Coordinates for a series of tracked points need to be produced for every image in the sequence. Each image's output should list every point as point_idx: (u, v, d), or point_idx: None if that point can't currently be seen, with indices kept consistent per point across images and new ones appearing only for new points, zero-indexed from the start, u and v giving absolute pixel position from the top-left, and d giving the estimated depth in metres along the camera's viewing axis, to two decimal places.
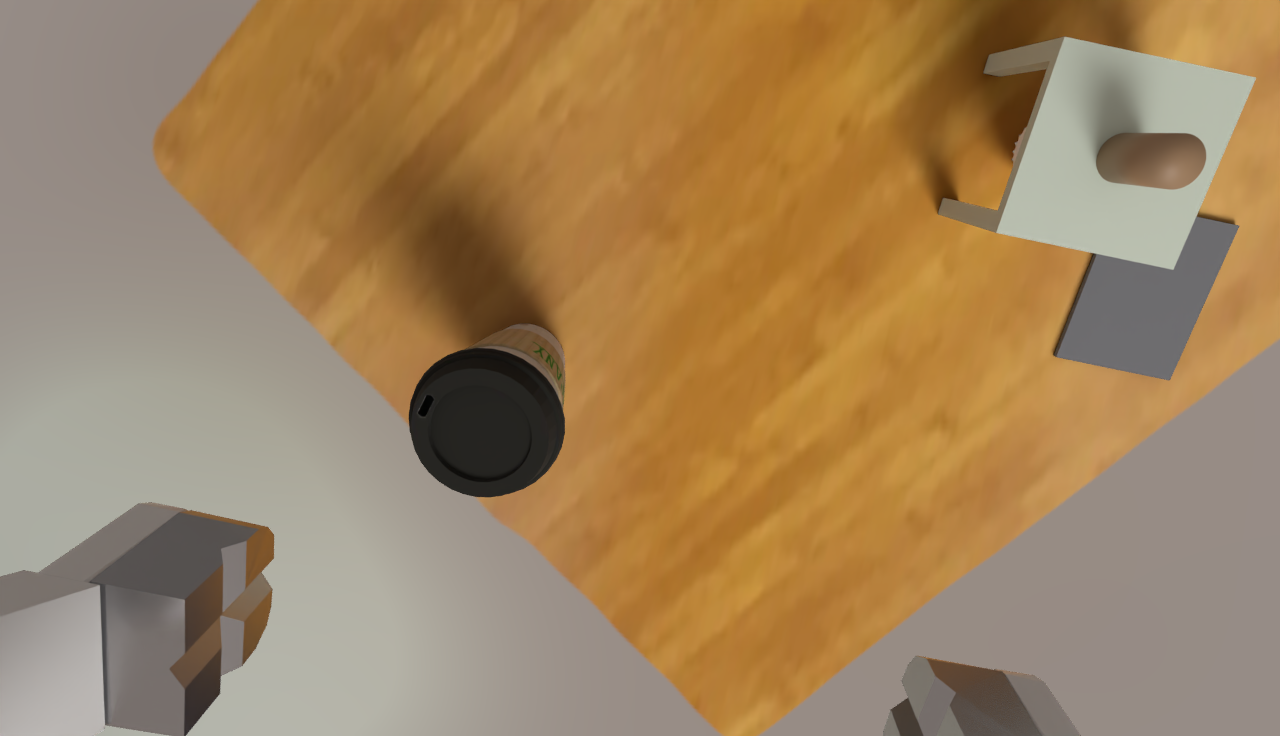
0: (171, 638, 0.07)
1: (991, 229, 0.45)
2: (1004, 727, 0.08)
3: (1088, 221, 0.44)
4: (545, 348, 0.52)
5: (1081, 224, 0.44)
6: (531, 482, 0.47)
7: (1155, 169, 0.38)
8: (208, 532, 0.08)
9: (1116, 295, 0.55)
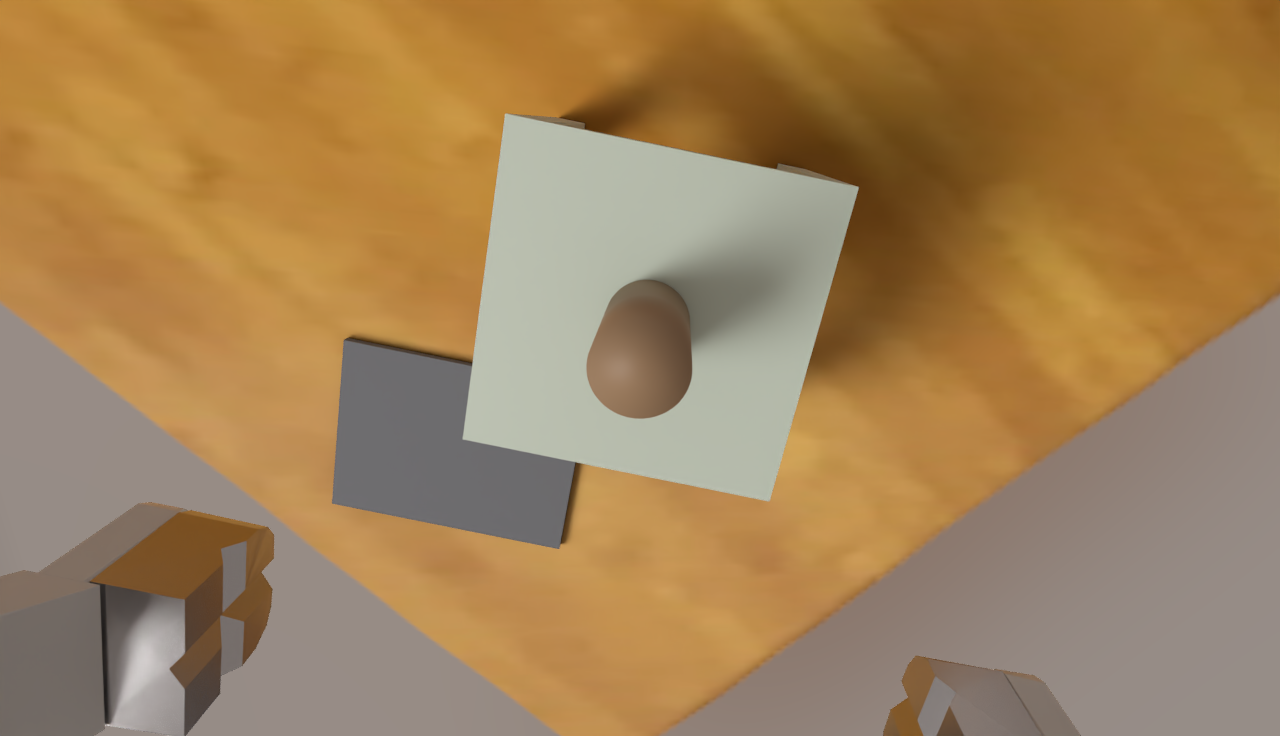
0: (171, 638, 0.07)
1: (513, 114, 0.23)
2: (1004, 727, 0.08)
3: (535, 284, 0.24)
4: None
5: (530, 273, 0.24)
6: None
7: (624, 331, 0.19)
8: (208, 532, 0.08)
9: (449, 411, 0.36)
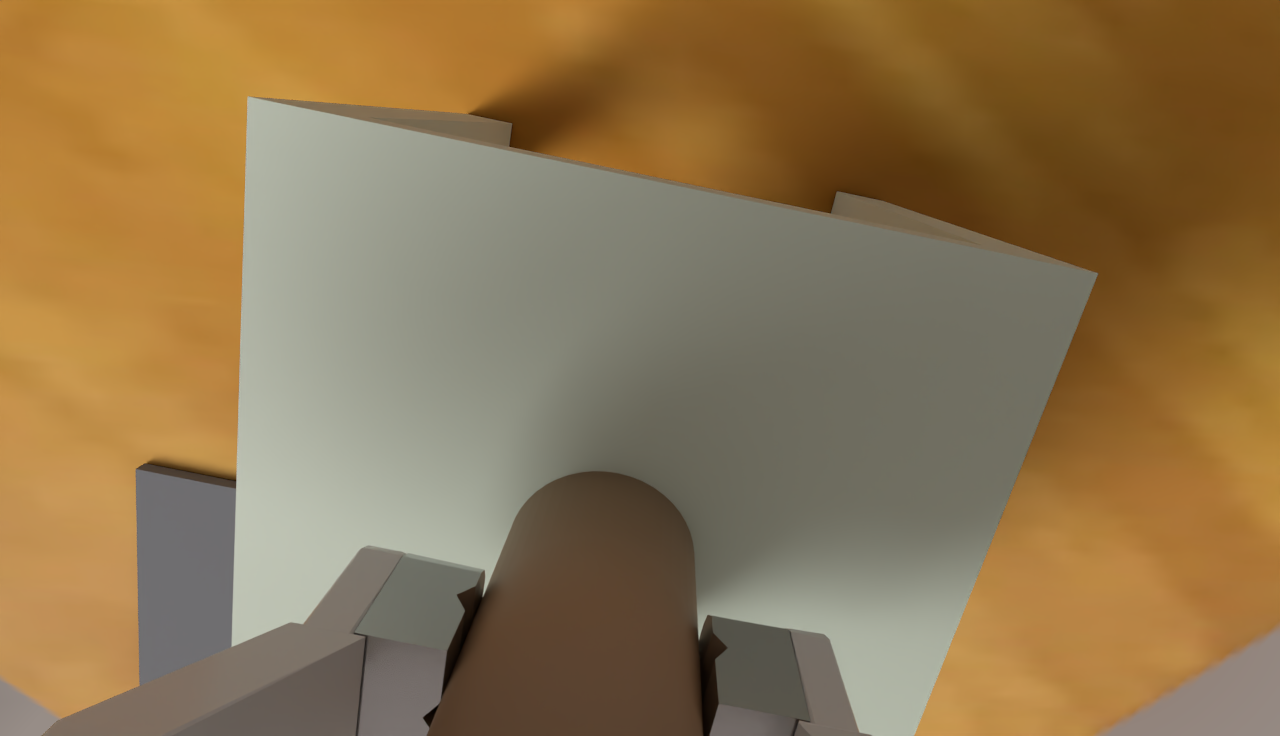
0: (428, 688, 0.07)
1: (285, 100, 0.10)
2: (765, 680, 0.08)
3: (352, 477, 0.11)
4: None
5: (338, 455, 0.11)
6: None
7: None
8: (437, 577, 0.08)
9: None
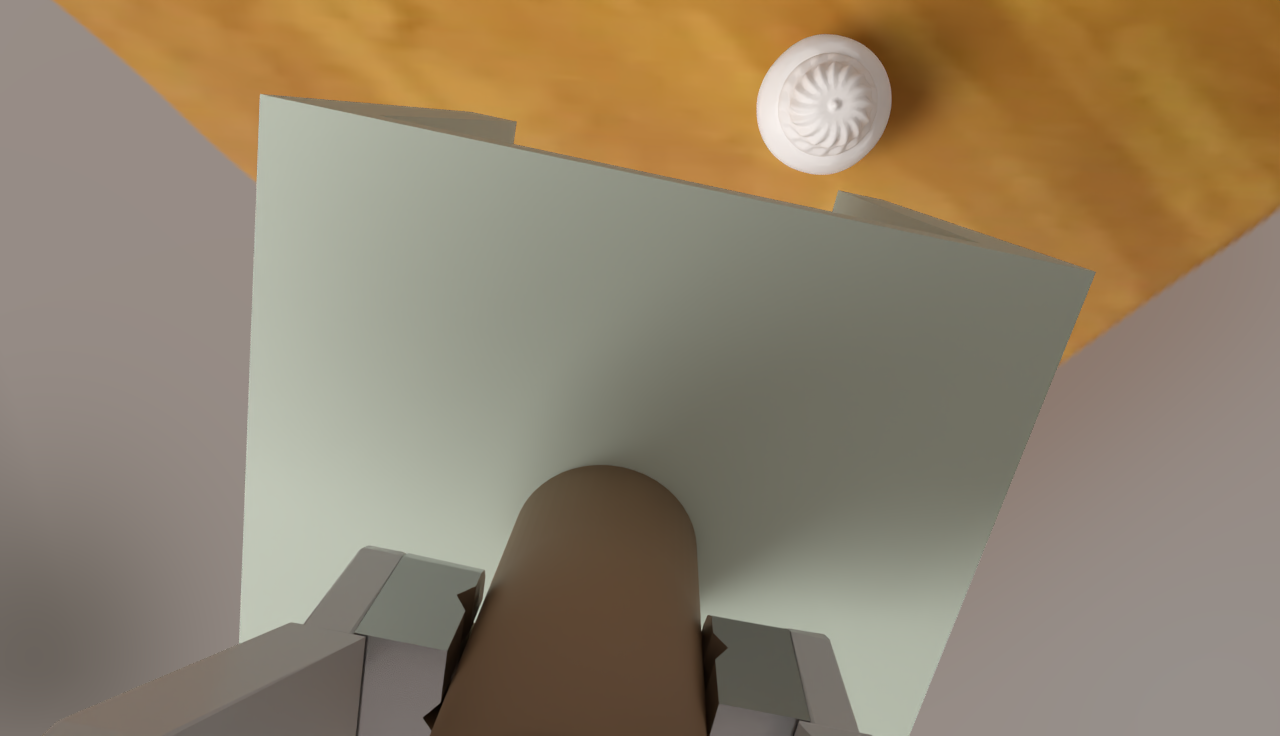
0: (428, 688, 0.07)
1: (296, 98, 0.10)
2: (765, 681, 0.08)
3: (359, 470, 0.11)
4: None
5: (345, 448, 0.11)
6: None
7: None
8: (438, 577, 0.08)
9: None
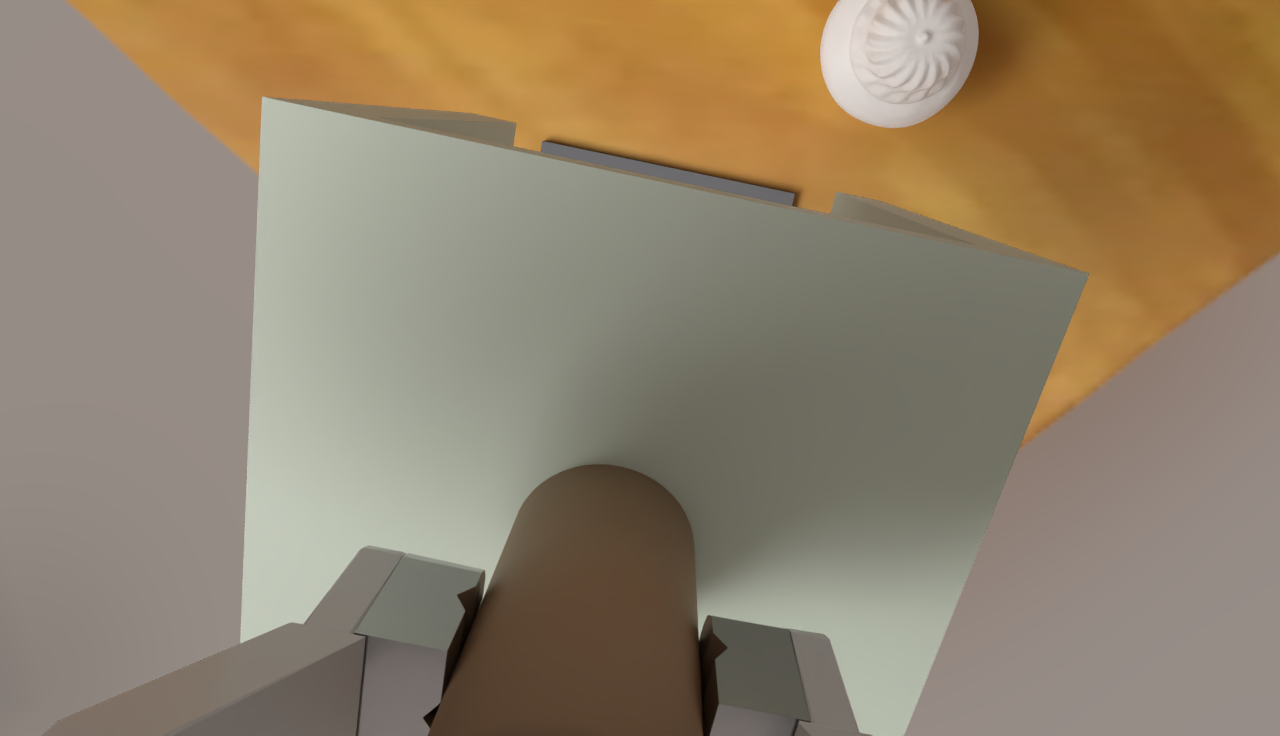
0: (428, 688, 0.07)
1: (297, 100, 0.10)
2: (765, 681, 0.08)
3: (360, 469, 0.11)
4: None
5: (346, 447, 0.11)
6: None
7: None
8: (438, 578, 0.08)
9: None
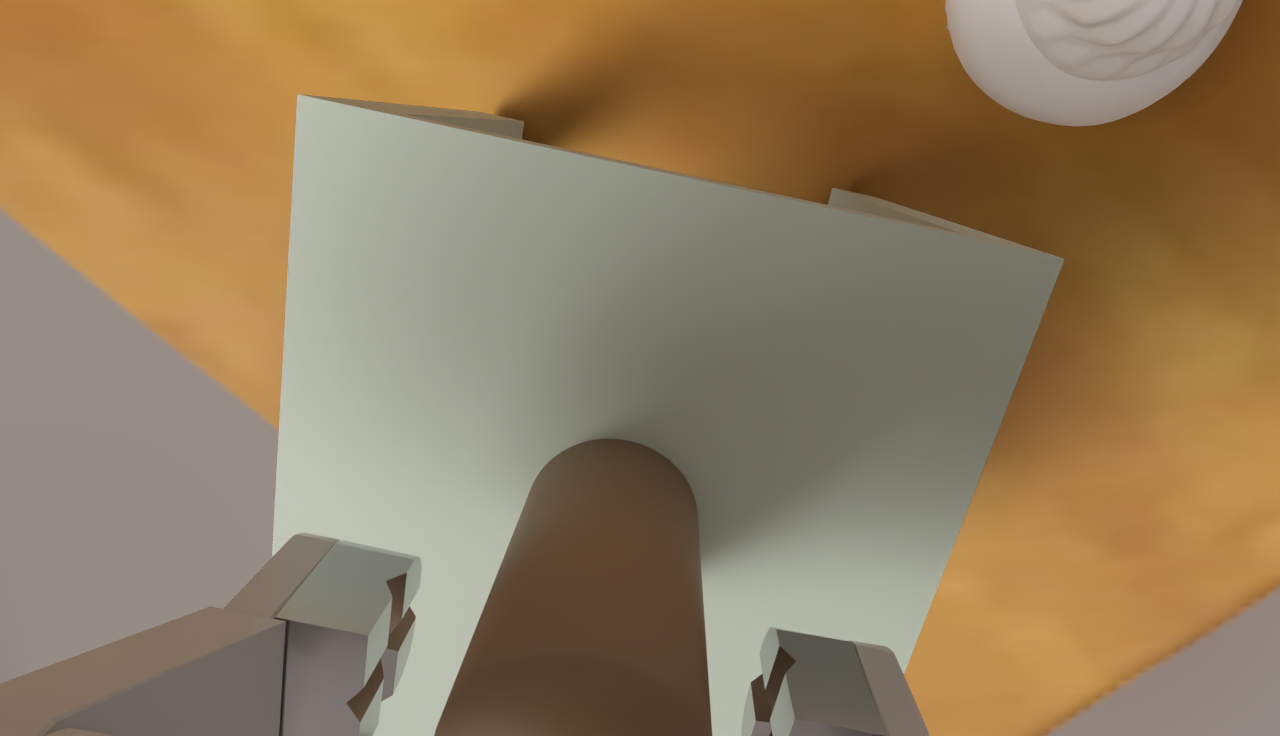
0: (351, 673, 0.07)
1: (328, 98, 0.11)
2: (837, 694, 0.08)
3: (384, 444, 0.12)
4: None
5: (371, 423, 0.12)
6: None
7: (529, 684, 0.07)
8: (368, 564, 0.08)
9: None
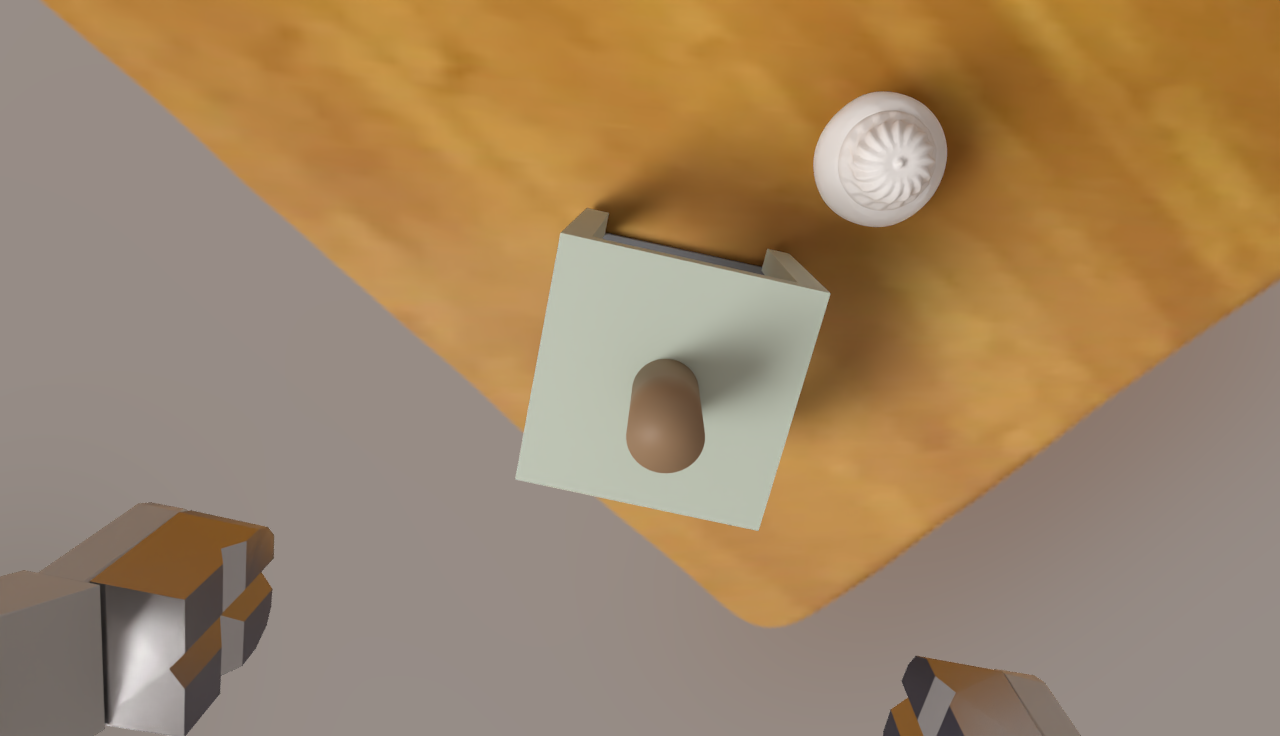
0: (171, 638, 0.07)
1: (564, 230, 0.30)
2: (1004, 727, 0.08)
3: (578, 360, 0.31)
4: None
5: (574, 352, 0.31)
6: None
7: (655, 410, 0.26)
8: (208, 532, 0.08)
9: None
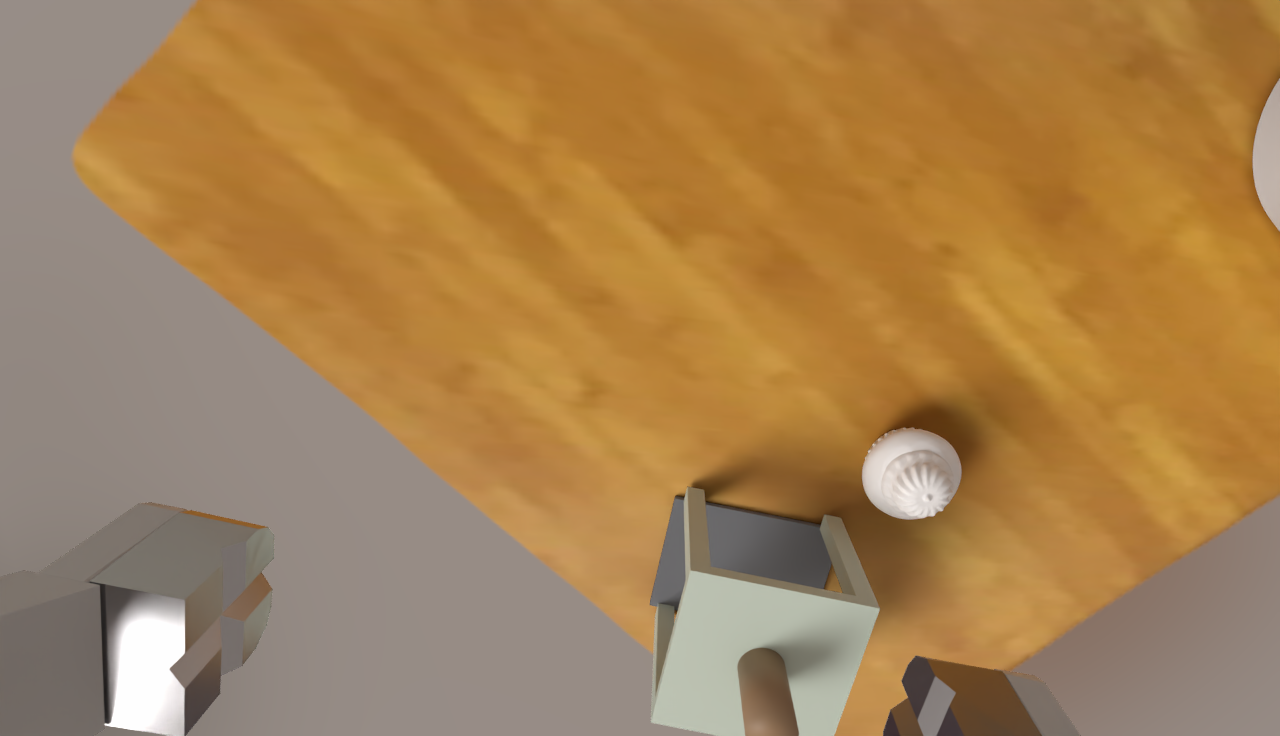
0: (171, 638, 0.07)
1: (691, 562, 0.42)
2: (1004, 727, 0.08)
3: (700, 648, 0.43)
4: None
5: (697, 643, 0.43)
6: None
7: (765, 717, 0.38)
8: (208, 532, 0.08)
9: (742, 544, 0.53)
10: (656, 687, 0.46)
